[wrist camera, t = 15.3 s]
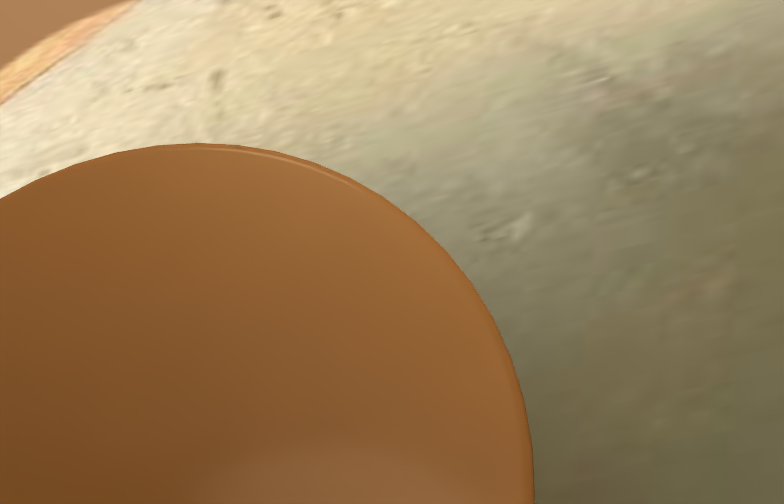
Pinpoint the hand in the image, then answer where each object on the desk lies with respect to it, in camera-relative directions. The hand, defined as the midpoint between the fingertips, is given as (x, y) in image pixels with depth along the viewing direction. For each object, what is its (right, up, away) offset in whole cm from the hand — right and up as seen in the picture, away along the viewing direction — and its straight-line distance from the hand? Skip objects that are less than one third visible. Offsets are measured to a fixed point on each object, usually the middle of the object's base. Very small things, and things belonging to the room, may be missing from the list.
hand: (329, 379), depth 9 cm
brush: (-1, -5, +7) cm, 9 cm away
